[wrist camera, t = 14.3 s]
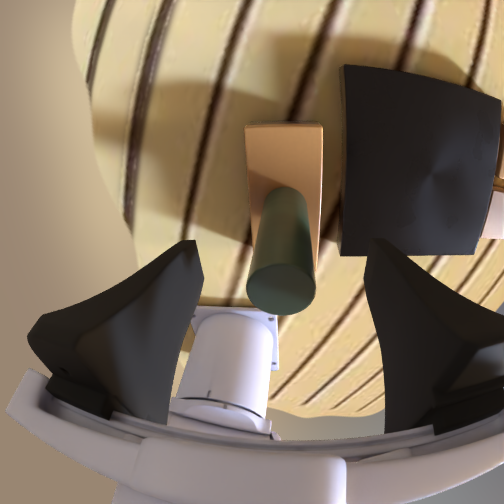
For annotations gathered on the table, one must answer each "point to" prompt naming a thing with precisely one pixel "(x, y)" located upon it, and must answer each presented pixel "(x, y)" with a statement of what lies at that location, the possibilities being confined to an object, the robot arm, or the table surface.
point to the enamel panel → (414, 162)
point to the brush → (284, 213)
